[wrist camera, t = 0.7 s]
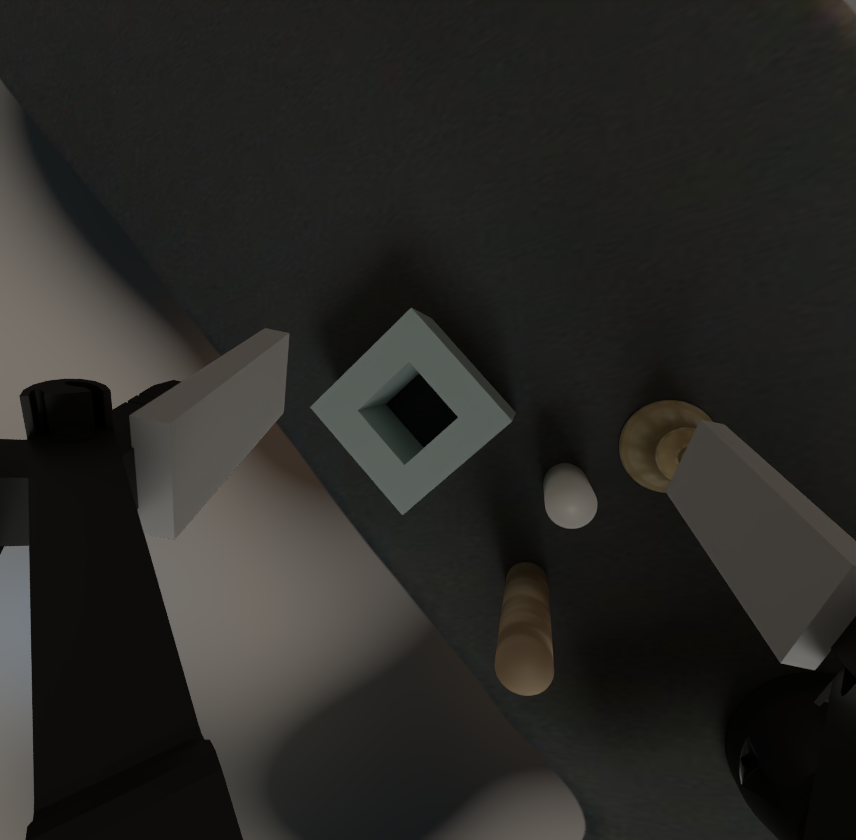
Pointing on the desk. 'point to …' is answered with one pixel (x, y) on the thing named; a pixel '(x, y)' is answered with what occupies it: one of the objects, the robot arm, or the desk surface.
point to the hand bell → (658, 441)
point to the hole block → (386, 435)
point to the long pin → (525, 632)
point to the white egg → (569, 496)
